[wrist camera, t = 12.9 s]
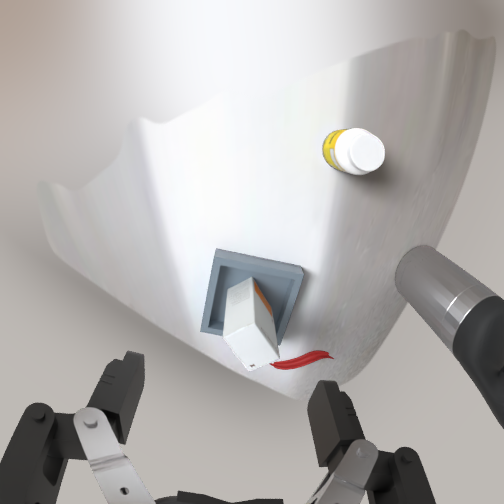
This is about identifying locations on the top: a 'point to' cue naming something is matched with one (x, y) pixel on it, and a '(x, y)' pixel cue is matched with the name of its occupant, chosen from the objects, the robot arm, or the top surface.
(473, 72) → the top surface
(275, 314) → the tray
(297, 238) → the top surface
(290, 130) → the top surface
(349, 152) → the supplement bottle
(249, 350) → the skincare box
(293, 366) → the cayenne pepper
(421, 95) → the top surface
